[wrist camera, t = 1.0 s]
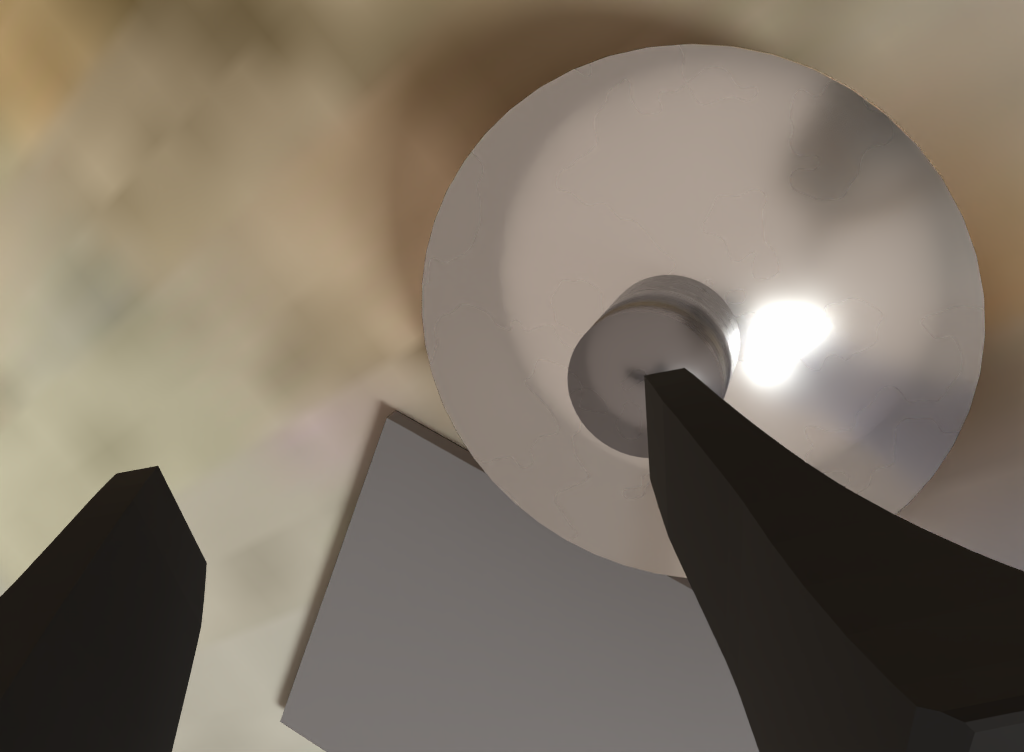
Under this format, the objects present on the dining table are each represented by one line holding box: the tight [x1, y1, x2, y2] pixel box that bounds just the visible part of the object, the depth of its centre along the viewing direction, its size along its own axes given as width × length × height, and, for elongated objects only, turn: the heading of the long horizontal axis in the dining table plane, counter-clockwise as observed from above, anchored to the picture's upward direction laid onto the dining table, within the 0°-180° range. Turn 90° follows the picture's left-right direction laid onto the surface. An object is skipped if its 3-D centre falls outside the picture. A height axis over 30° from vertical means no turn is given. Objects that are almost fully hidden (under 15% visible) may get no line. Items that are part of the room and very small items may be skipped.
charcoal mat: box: [280, 411, 759, 752], centre depth 30 cm, size 16×16×1 cm
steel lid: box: [422, 44, 985, 578], centre depth 19 cm, size 13×13×4 cm
